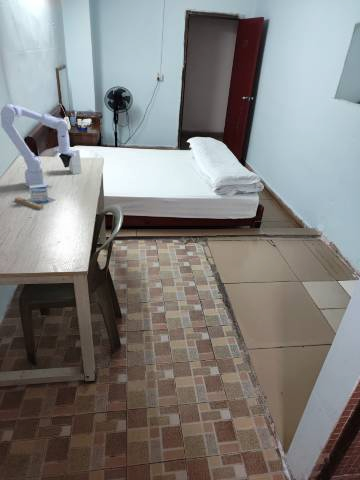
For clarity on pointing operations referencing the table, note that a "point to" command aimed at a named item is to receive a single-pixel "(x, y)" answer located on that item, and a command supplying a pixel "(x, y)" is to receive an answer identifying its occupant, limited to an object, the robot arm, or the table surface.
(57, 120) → the robot arm
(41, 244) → the table surface
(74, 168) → the skincare box
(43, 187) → the medicine box
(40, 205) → the level mat
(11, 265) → the table surface
